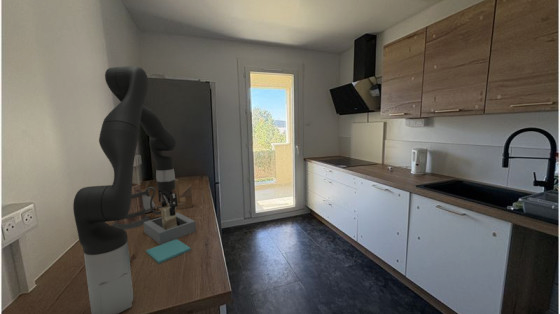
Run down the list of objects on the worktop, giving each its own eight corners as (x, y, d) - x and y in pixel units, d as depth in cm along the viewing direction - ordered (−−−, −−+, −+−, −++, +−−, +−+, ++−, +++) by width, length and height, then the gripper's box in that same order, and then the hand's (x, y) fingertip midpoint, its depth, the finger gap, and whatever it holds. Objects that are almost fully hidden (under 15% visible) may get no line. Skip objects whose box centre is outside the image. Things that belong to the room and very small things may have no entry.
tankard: (107, 232, 107) (103, 191, 104) (114, 220, 122) (110, 183, 119) (163, 222, 117) (160, 184, 115) (163, 212, 132) (160, 178, 130)
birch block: (176, 227, 106) (175, 206, 105) (167, 230, 103) (165, 209, 102) (172, 225, 109) (171, 204, 108) (162, 228, 106) (161, 207, 105)
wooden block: (192, 207, 140) (190, 178, 138) (173, 210, 136) (171, 180, 134) (192, 205, 143) (190, 177, 141) (173, 208, 139) (171, 179, 137)
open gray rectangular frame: (195, 231, 106) (195, 221, 106) (160, 244, 94) (159, 233, 94) (178, 221, 118) (177, 212, 118) (144, 232, 106) (143, 222, 106)
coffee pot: (154, 213, 131) (151, 188, 129) (131, 216, 127) (128, 190, 125) (159, 202, 151) (158, 180, 149) (140, 204, 147) (137, 182, 145)
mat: (190, 249, 90) (190, 248, 90) (158, 263, 81) (158, 261, 81) (176, 240, 98) (176, 238, 98) (146, 252, 89) (146, 250, 89)
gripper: (150, 178, 105) (153, 212, 107) (164, 182, 96) (167, 219, 98) (167, 175, 111) (170, 207, 113) (181, 179, 101) (183, 214, 103)
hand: (168, 213), depth 105 cm, fingers open, 8 cm apart
